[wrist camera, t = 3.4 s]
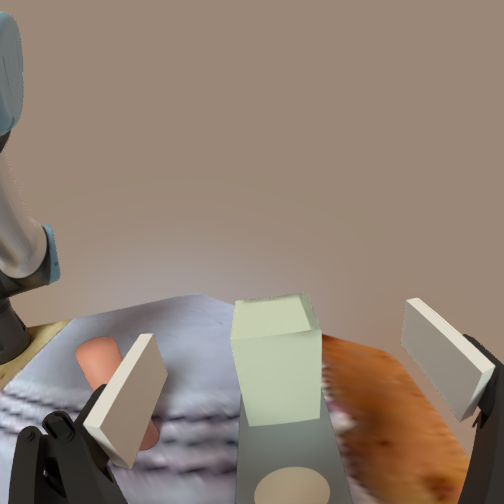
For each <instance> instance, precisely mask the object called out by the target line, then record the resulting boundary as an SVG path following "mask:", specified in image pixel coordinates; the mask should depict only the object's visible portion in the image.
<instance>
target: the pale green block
mask: <svg viewBox="0 0 504 504" xmlns="http://www.w3.org/2000/svg"><path fill="white" fill-rule="evenodd" d="M230 341H231V346H232V351H233V356H234V361H235V365H236V370H237V375H238V380H239V384H240V389H241V393H242V398H243V402H244V407H245V411H246V415H247V420H248V424H249V427H250V426H263V425H274V424H283V423H291V422H299V421H305V420H312V419H318V418H320V401H321V363H322V329H321V326H320V324H319V322H318V319H317V317H316V314H315V312H314V310H313V307H312V306H311V303H310V301H309V298H308V296H307V294H306V293H299V294H291V295H283V296H275V297H268V298H258V299H250V300H240V301H236V302H235V308H234V316H233V323H232V330H231V337H230Z"/></svg>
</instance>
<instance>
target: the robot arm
mask: <svg viewBox="0 0 504 504" xmlns="http://www.w3.org/2000/svg"><path fill="white" fill-rule="evenodd" d="M22 72H23V57H22V47H21V39H20V33H19V29H18V26H17V23H16V21H15V20H14V18H13V17H12V15H10V14H9V13H6V12H3V11H0V364H3V363H5V362H7V361H9V360H11V359H13V358H15V357H16V356H18V355H19V354H20V353H21V352H23V351H24V350H25V349H26V348H27V346H28V345H29V343H30V341H31V336H30V334H29V331H28V329H27V327H26V326H25V325H24V323H23V322H22V321H21V319H20V318H19V317H18V315H17V314H16V312H15V311H14V310H13V308H12V307H11V304H10V301H9V298H8V297H11V296H14V295H17V294H20V293H23V292H26V291H29V290H32V289H35V288H38V287H41V286H44V285H50V284H51V283H53V282H55V281H57V280H58V279H59V278H60V268H59V263H58V257H57V251H56V246H55V240H54V235H53V230H52V227H51V226H50V225H40V224H39V223H38V222H37V221H35V220H34V219H32V218H30V217H29V215H28V212H27V210H26V208H25V205H24V203H23V200H22V198H21V195H20V192H19V189H18V187H17V184H16V182H15V178H14V175H13V172H12V169H11V166H10V162H9V159H8V156H7V152H6V146H7V144H8V141H9V138H10V136H11V132H12V128H14V126H16V124H17V123H18V121H19V119H20V115H21V111H22V103H23V76H22ZM401 345H402V346H403V347H404V348H405V350H406V351H407V352H408V353H409V355H410V356H411V357H412V359H413V360H414V361H415V362H416V364H417V365H418V366H419V368H420V369H421V370H422V371H423V373H424V374H425V375H426V377H427V378H428V379H429V381H430V382H431V383H432V385H433V386H434V387H435V389H436V390H437V391H438V393H439V394H440V396H441V397H442V398H443V400H444V401H445V402H446V404H447V405H448V407H449V408H450V409H451V411H452V412H453V413H454V415H455V417H456V418H457V419H458V421H459V422H461V421H463V420H465V419H467V418H469V417H470V416H472V415H473V413H474V411H475V409H476V407H477V405H478V407H479V408H480V409H481V411H480V413H479V414H478V416H477V418H476V420H475V422H474V423H473V426H472V427H474V426H475V425H476V423H477V429H476V435H475V441H474V446H473V451H472V455H471V460H470V464H469V468H468V472H467V476H466V479H465V483H464V486H463V489H462V492H461V495H460V498H459V501H458V504H504V365H503V364H502V363H501V362H500V361H499V360H497V358H495V357H494V356H493V355H492V354H491V353H490V352H489V351H488V350H485V348H484V347H483V346H482V345H480V343H479V342H478V341H476V340H475V339H474V338H473V337H470V336H468V335H466V334H464V335H461V334H460V333H459V332H458V331H457V330H456V329H454V328H453V327H452V326H451V325H450V324H449V323H448V322H446V321H445V320H444V319H443V318H442V317H441V316H439V315H438V314H437V313H436V312H435V311H433V310H432V309H431V308H430V307H429V306H427V305H426V304H425V303H424V302H422V301H421V300H420V299H419V298H414V299H410V300H406V307H405V316H404V323H403V331H402V338H401ZM167 376H168V373H167V371H166V368H165V365H164V363H163V360H162V357H161V354H160V351H159V349H158V346H157V343H156V340H155V337H154V334H140V336H139V337H138V339H137V340H136V342H135V343H134V344H133V346H132V347H131V349H130V350H129V352H128V353H127V355H126V356H125V358H124V360H123V361H122V363H121V364H120V366H119V367H118V369H117V370H116V372H115V373H114V375H113V376H112V378H111V380H110V381H109V383H108V384H102V385H101V386H99V387H98V388H97V389H96V390H95V391H94V392H93V394H92V395H91V397H90V399H89V400H88V402H87V403H86V405H85V406H84V408H83V409H82V411H81V412H80V414H79V416H78V417H77V419H76V420H75V422H73V421H72V419H71V418H70V417H69V415H68V414H67V413H66V412H64V411H54V412H52V413H50V414H48V415H47V416H46V417H45V418H44V420H43V423H42V427H43V428H44V429H45V431H46V432H47V433H48V434H49V435H44V434H42V433H41V431H40V430H39V429H38V428H37V427H35V426H28V427H25V428H24V429H22V430H21V432H20V433H19V435H18V438H17V443H16V448H15V453H14V458H13V464H12V471H11V479H10V488H9V500H8V504H128V503H127V501H126V500H125V498H124V496H123V494H122V492H121V490H120V488H119V486H118V484H117V482H116V480H115V478H114V476H113V474H112V471H111V469H110V468H109V466H108V465H107V463H108V460H109V458H110V460H111V461H112V462H113V463H114V464H115V465H116V466H119V467H124V468H128V469H132V467H133V464H134V461H135V458H136V456H137V453H138V450H139V448H140V445H141V442H142V440H143V437H144V434H145V432H146V429H147V426H148V424H149V421H150V419H151V416H152V414H153V411H154V408H155V406H156V403H157V401H158V398H159V396H160V393H161V391H162V388H163V386H164V383H165V381H166V378H167ZM44 471H45V475H44Z"/></svg>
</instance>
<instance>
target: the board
mask: <svg viewBox="0 0 504 504" xmlns="http://www.w3.org/2000/svg"><path fill="white" fill-rule="evenodd" d="M235 504H353V503H352V499H351V495H350V491H349V487H348V483H347V479H346V475H345V471H344V468H343V464H342V460H341V456H340V453H339V449H338V445H337V441H336V438H335V434H334V431H333V427H332V423H331V420H330V416H329V413H328V409H327V406H326V402H325V399H324V395H323V392H322V389H321V401H320V418H318V419H312V420H305V421H299V422H291V423H283V424H274V425H263V426H250V427H249V424H248V420H247V415H246V411H245V407H244V402H243V398H242V393H241V402H240V420H239V439H238V458H237V477H236V497H235Z"/></svg>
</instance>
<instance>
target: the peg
mask: <svg viewBox="0 0 504 504" xmlns="http://www.w3.org/2000/svg"><path fill="white" fill-rule="evenodd" d="M75 356H76V359H77V361H78V363H79V365H80V367H81V369H82V371H83V373H84V375H85V377H86V379H87V381H88V383H89V384H90V386H91V388H92V390H93V392H94V391H95V390H96V389H97V388H98V387H99V386H101V385H102V384H108V383H109V381H110V380H111V378H112V376H113V375H114V373H115V372H116V370H117V369H118V367H119V366H120V364H121V363H122V361H123V359H122V356H121V354H120V351H119V349H118V346H117V344H116V341H115V340H114V339H113V338H111V337H97V338H93V339H90V340H88V341H86V342H84V343H83V344H81V345H80V346H79V347H78V348H77V350H76V352H75ZM158 439H159V432H158V430H157V428H156V426H155V425H154V423H153V421H152V419H150V421H149V424H148V426H147V429H146V432H145V434H144V437H143V440H142V442H141V445H140V448H139V451H142V450H147V449H150V448H151V447H153V446H154V445H155V444H156V443H157V442H158Z"/></svg>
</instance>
